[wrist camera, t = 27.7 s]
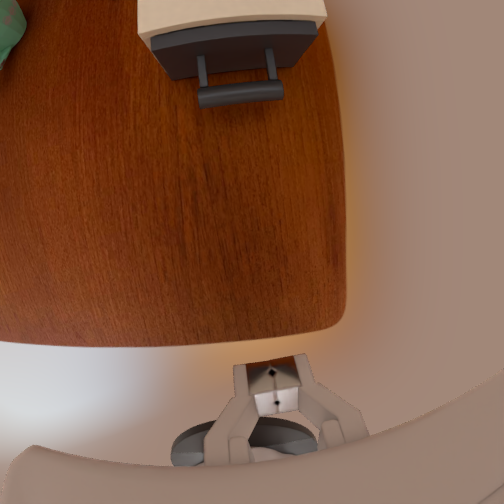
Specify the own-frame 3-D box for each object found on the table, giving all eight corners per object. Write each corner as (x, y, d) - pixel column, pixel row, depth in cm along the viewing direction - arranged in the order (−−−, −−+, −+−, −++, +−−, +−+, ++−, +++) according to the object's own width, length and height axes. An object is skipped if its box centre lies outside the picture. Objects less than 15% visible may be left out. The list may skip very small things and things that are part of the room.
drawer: (299, 109, 23) (329, 89, 16) (176, 123, 23) (155, 108, 15) (271, -33, 18) (284, -76, 10) (165, -22, 17) (150, -64, 10)
